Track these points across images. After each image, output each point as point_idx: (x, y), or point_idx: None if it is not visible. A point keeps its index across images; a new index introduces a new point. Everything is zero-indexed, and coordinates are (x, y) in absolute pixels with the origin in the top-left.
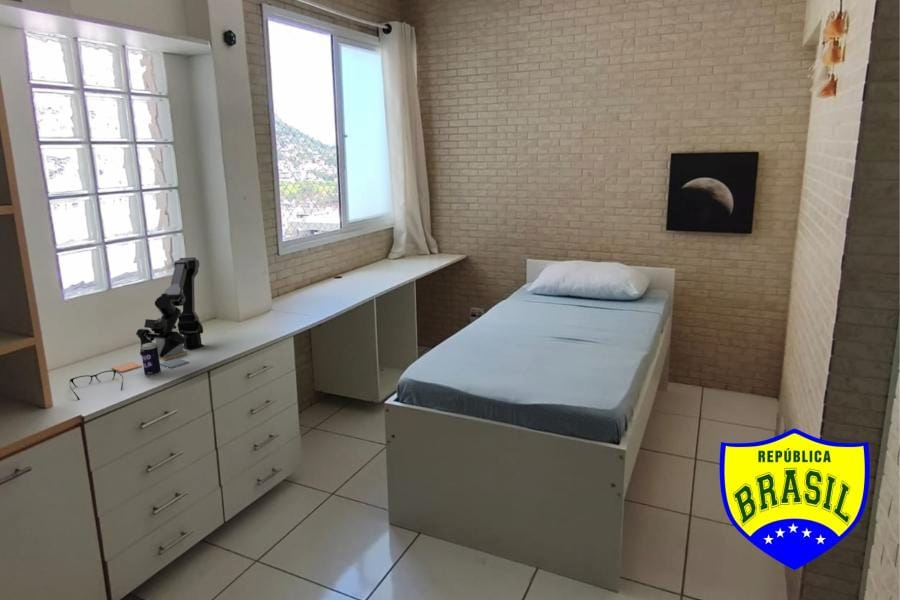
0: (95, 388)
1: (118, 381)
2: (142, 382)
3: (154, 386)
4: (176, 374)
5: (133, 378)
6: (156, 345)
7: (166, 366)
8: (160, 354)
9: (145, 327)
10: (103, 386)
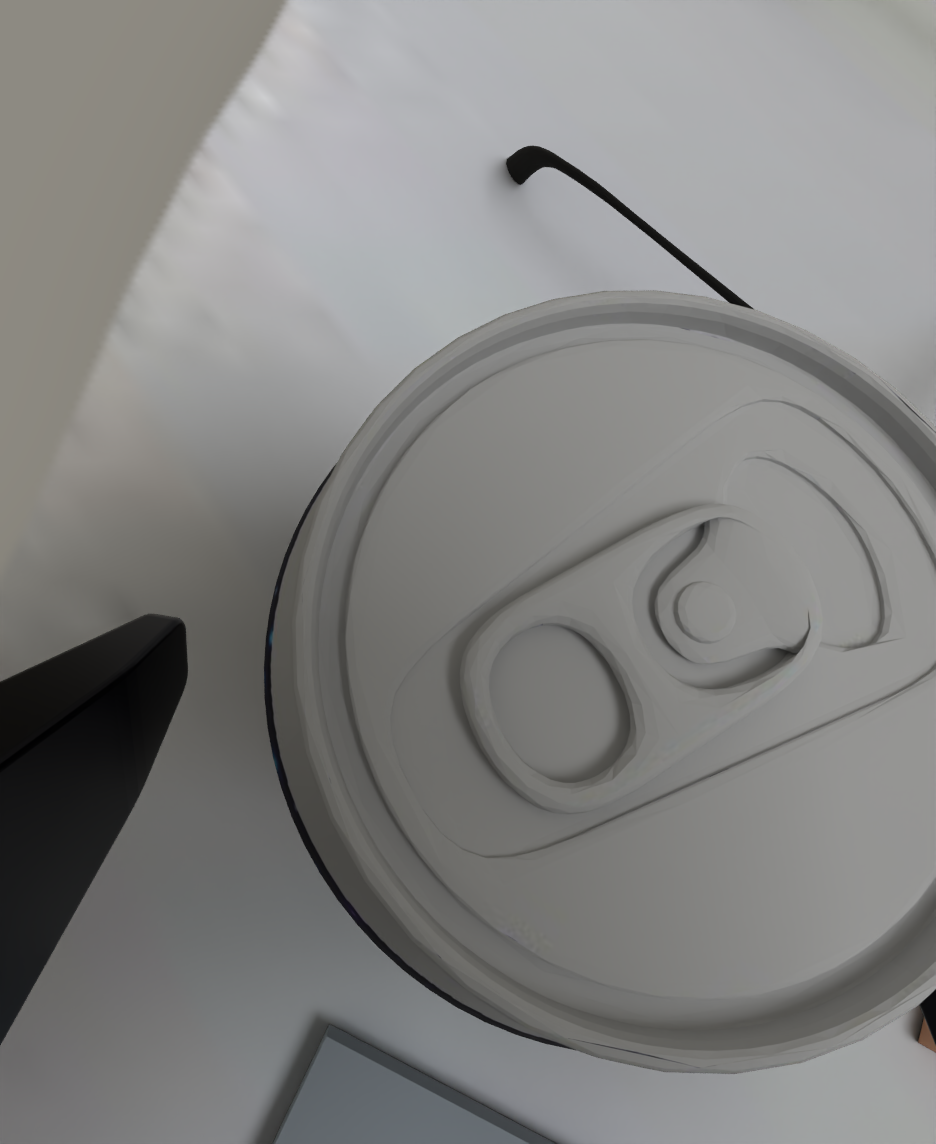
0: (854, 210)
1: None
2: None
3: (160, 284)
4: None
5: None
6: (336, 850)
7: (445, 1095)
8: (136, 634)
9: None
10: (816, 263)
